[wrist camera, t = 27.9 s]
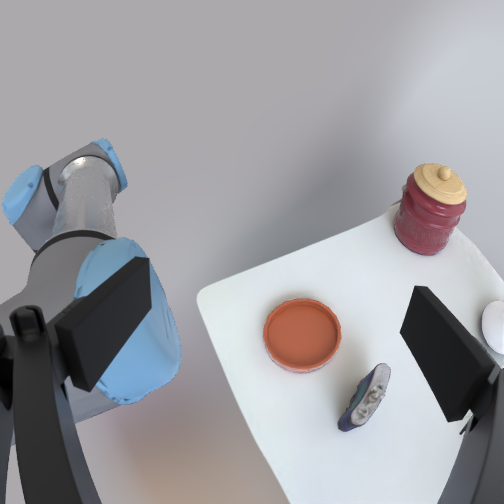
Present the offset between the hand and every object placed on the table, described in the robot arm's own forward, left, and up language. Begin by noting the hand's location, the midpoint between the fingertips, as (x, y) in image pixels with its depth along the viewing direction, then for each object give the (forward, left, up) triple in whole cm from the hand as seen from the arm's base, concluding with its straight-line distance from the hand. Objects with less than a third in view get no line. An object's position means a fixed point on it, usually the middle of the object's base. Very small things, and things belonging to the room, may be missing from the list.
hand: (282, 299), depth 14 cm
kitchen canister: (+17, +41, -33) cm, 56 cm away
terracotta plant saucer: (-1, +11, -33) cm, 35 cm away
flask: (+11, +3, -33) cm, 35 cm away
